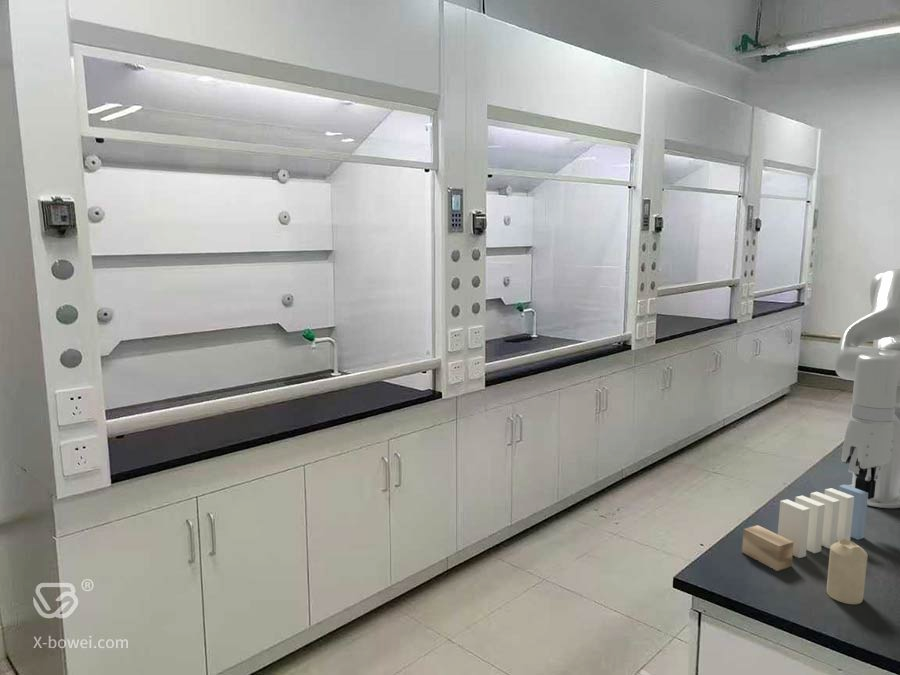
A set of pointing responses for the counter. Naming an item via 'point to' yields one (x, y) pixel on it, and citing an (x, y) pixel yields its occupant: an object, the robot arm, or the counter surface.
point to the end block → (767, 547)
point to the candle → (846, 572)
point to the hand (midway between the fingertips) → (864, 496)
